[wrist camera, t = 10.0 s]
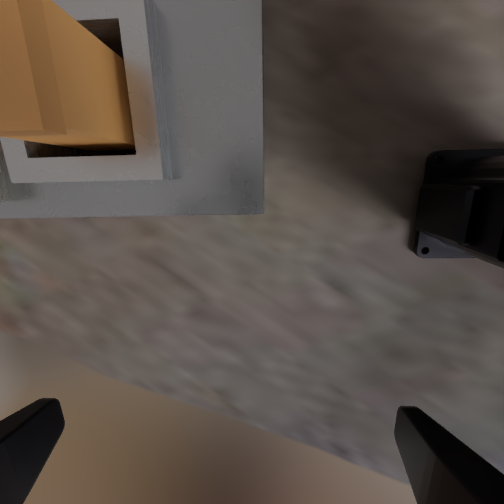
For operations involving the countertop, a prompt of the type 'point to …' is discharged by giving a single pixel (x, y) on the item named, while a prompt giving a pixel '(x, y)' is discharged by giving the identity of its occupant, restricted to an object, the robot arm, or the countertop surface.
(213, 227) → the countertop surface
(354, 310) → the countertop surface
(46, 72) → the wedge pin
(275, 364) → the countertop surface
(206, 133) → the grey socket base
